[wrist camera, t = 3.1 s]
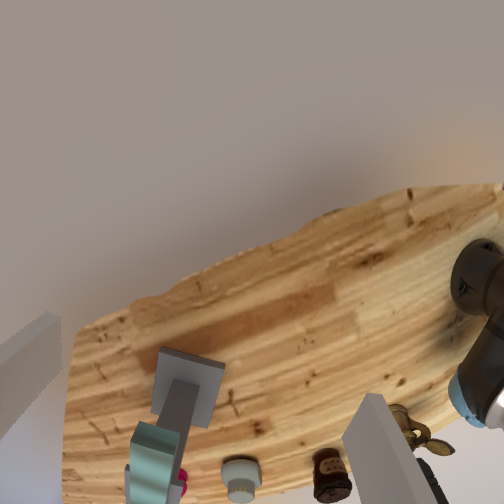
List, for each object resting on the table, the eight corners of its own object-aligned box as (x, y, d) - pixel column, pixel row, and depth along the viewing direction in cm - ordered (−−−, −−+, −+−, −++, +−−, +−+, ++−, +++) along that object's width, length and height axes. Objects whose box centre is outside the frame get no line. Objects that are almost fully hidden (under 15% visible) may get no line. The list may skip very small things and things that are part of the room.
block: (139, 420, 25) (130, 441, 22) (180, 433, 25) (173, 455, 22) (136, 522, 30) (132, 536, 27) (162, 529, 30) (159, 544, 27)
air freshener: (262, 477, 62) (263, 507, 52) (230, 479, 62) (227, 509, 53) (255, 452, 60) (255, 484, 50) (220, 454, 60) (216, 486, 50)
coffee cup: (315, 443, 59) (323, 486, 46) (348, 444, 59) (361, 484, 47) (303, 465, 61) (309, 506, 48) (335, 466, 61) (344, 505, 49)
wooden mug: (424, 411, 58) (456, 461, 40) (373, 438, 59) (396, 493, 42) (419, 388, 56) (455, 440, 38) (364, 416, 57) (389, 476, 40)
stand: (161, 346, 54) (104, 457, 26) (225, 363, 54) (206, 488, 27) (153, 407, 57) (111, 511, 30) (209, 422, 58) (189, 533, 30)
